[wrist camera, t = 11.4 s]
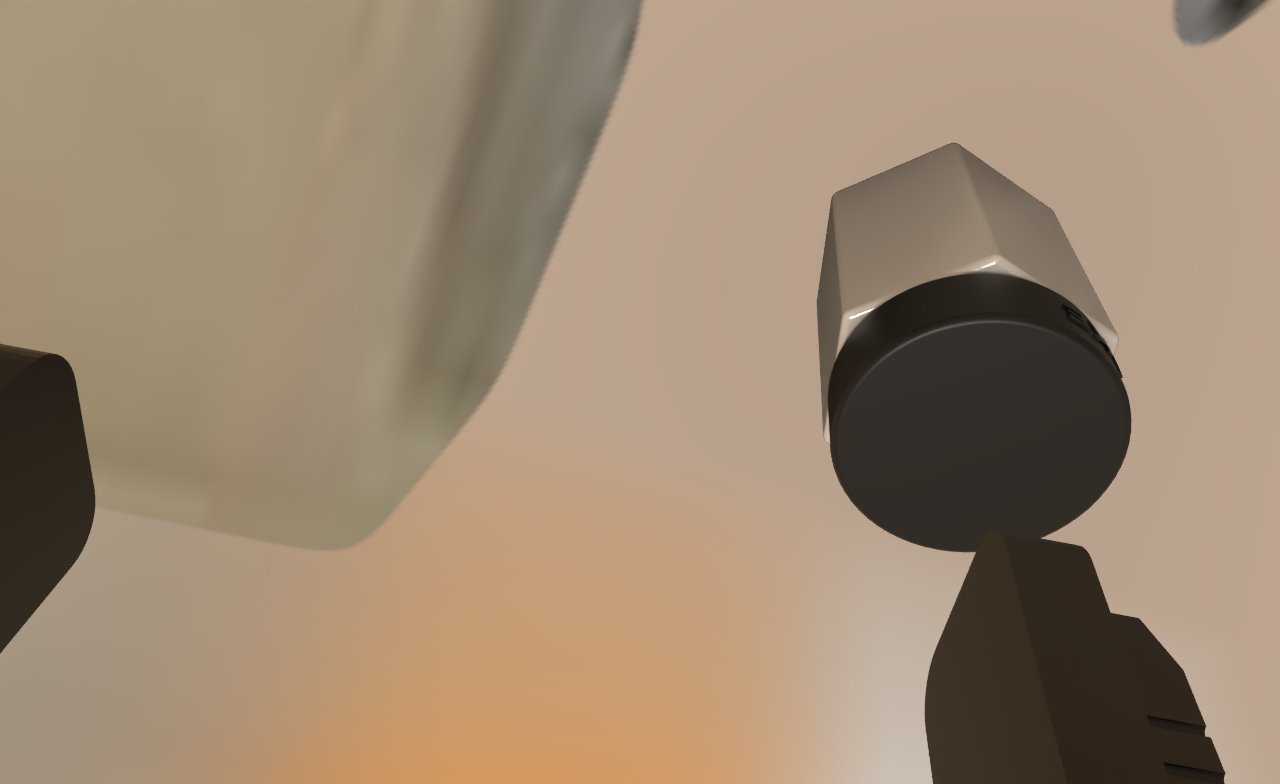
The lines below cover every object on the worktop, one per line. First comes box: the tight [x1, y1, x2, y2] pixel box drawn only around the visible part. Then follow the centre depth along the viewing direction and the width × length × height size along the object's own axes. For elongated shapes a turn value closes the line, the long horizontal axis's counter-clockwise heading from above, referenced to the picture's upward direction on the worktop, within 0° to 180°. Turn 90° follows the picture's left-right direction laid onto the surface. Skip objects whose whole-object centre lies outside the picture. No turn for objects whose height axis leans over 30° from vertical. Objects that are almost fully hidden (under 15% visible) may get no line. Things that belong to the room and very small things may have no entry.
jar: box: [817, 143, 1131, 552], centre depth 35 cm, size 9×8×12 cm
